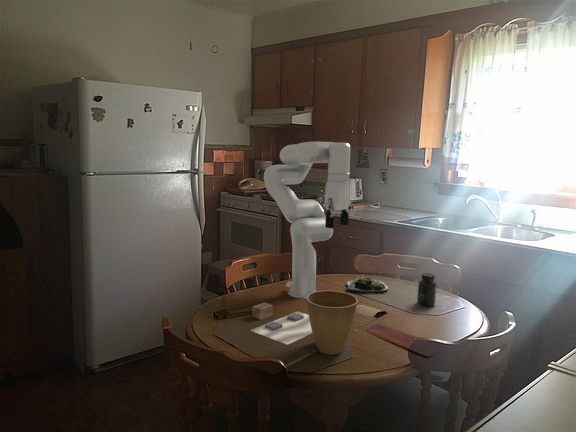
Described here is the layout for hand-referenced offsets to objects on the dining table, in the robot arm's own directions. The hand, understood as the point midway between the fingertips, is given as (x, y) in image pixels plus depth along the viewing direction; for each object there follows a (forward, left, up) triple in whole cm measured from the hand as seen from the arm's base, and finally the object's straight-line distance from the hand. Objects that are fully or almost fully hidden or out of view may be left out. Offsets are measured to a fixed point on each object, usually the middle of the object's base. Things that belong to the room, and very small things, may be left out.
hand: (337, 226), depth 167 cm
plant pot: (+18, -27, -32) cm, 46 cm away
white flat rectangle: (0, -23, -32) cm, 39 cm away
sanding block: (-14, -23, -32) cm, 42 cm away
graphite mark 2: (-4, -17, -31) cm, 35 cm away
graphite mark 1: (-4, -28, -31) cm, 42 cm away
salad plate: (-7, +34, -32) cm, 47 cm away
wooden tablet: (+30, -5, -33) cm, 45 cm away
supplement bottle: (+21, +32, -32) cm, 50 cm away
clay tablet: (+10, +7, -33) cm, 35 cm away
